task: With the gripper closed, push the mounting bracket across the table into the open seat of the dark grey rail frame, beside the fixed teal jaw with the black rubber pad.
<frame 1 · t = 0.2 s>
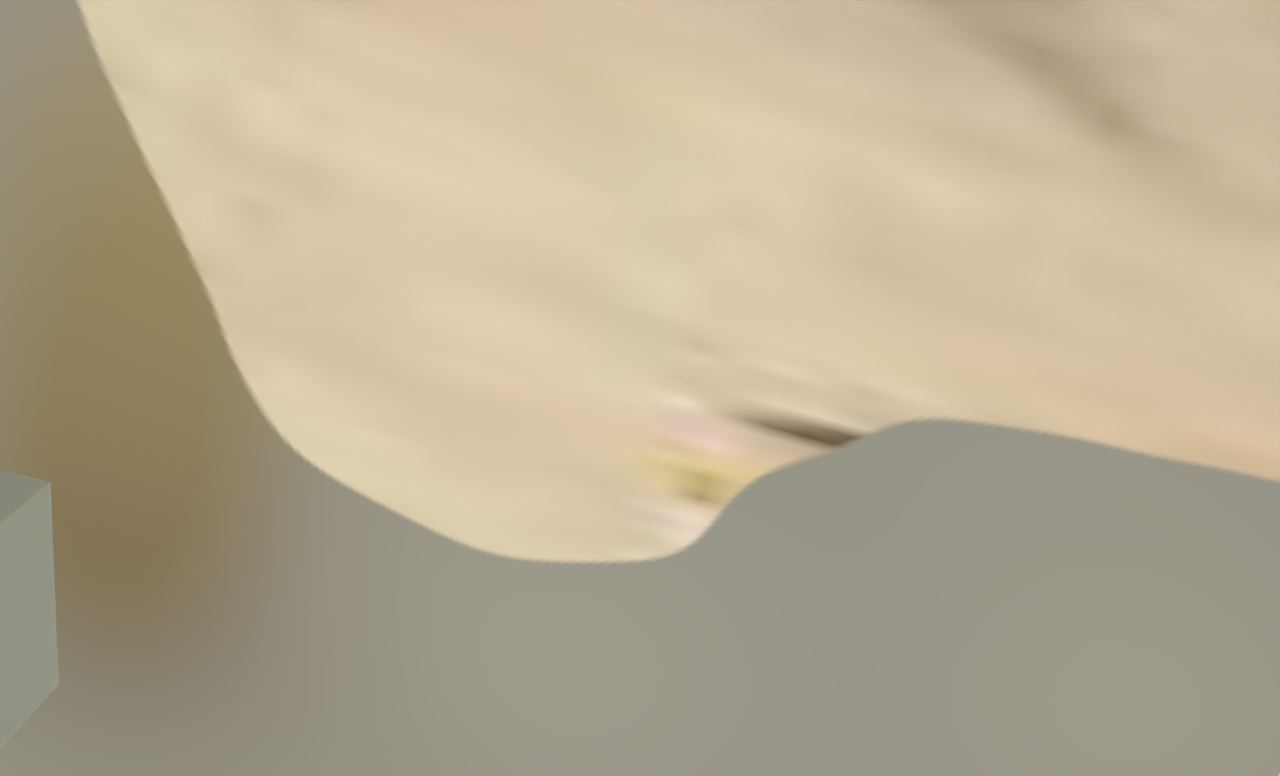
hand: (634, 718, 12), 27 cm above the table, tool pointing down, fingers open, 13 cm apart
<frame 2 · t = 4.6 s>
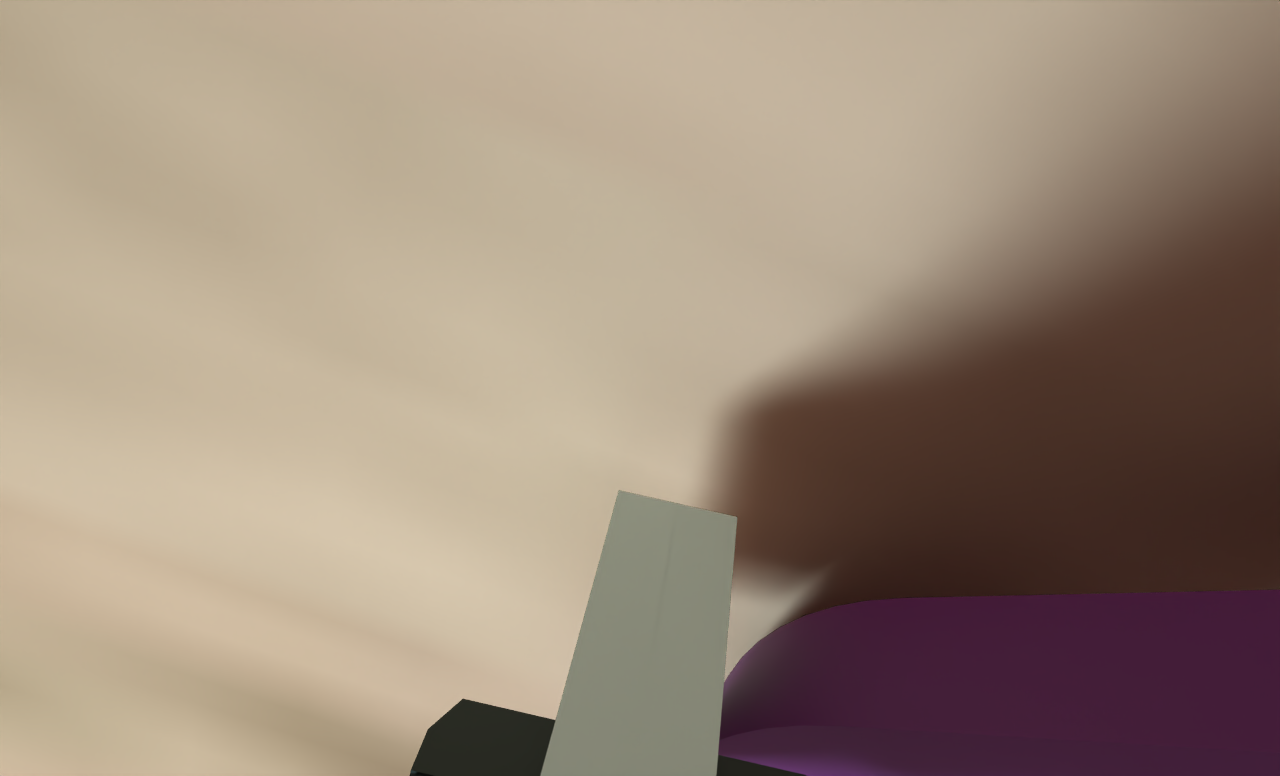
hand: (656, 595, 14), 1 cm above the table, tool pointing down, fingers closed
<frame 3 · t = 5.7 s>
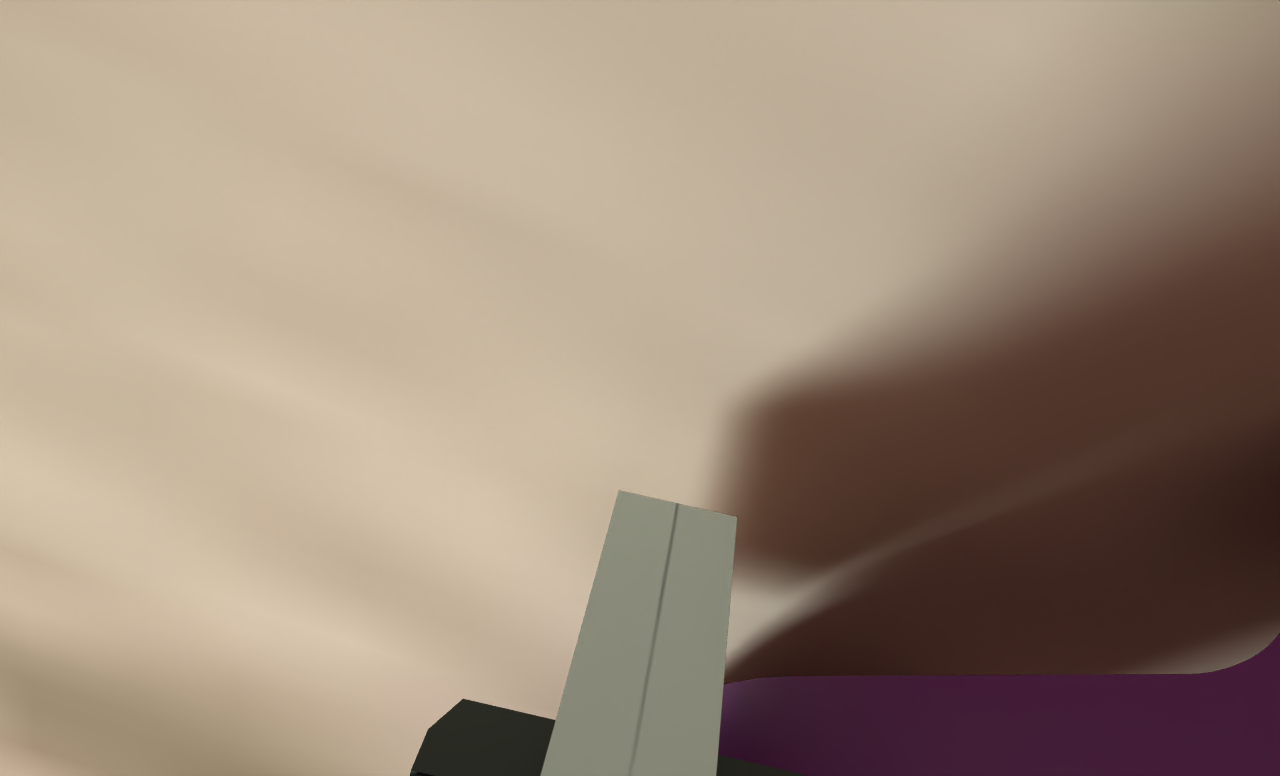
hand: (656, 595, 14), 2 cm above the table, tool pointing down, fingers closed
mounting bracket: (1195, 727, 17), on the table
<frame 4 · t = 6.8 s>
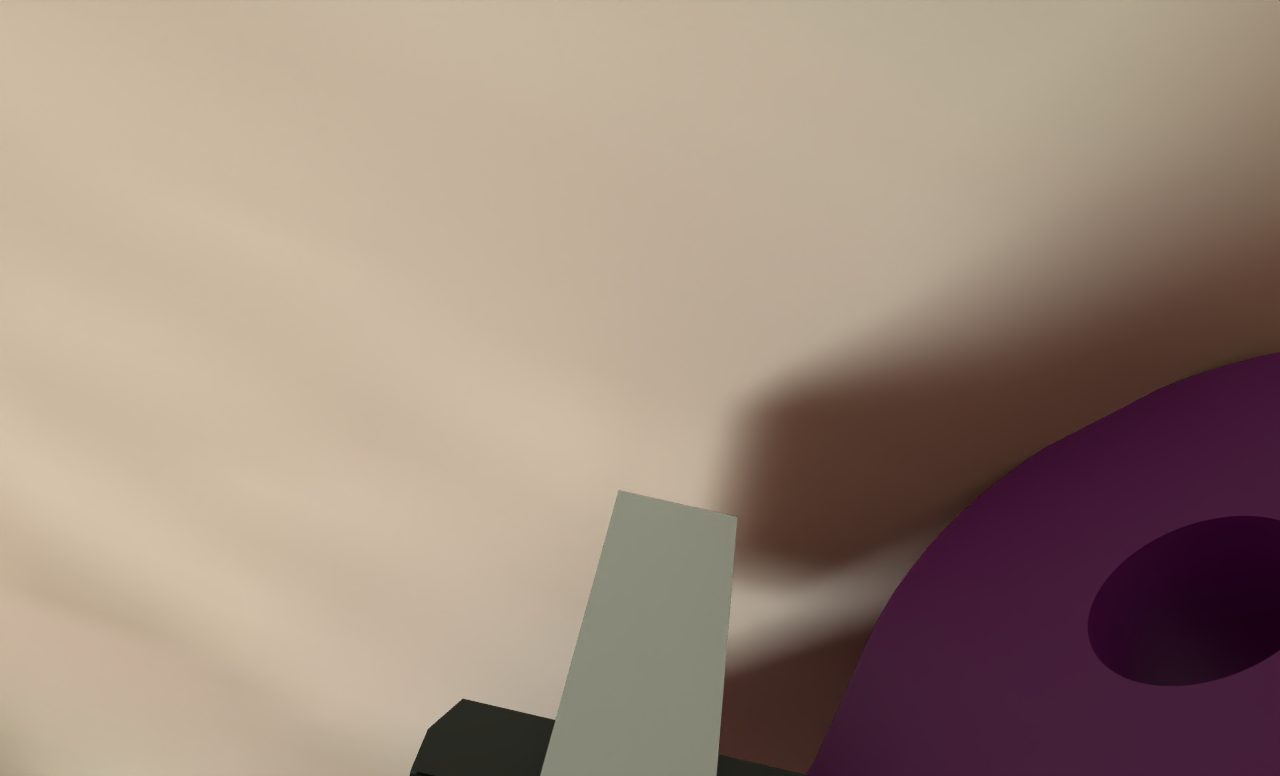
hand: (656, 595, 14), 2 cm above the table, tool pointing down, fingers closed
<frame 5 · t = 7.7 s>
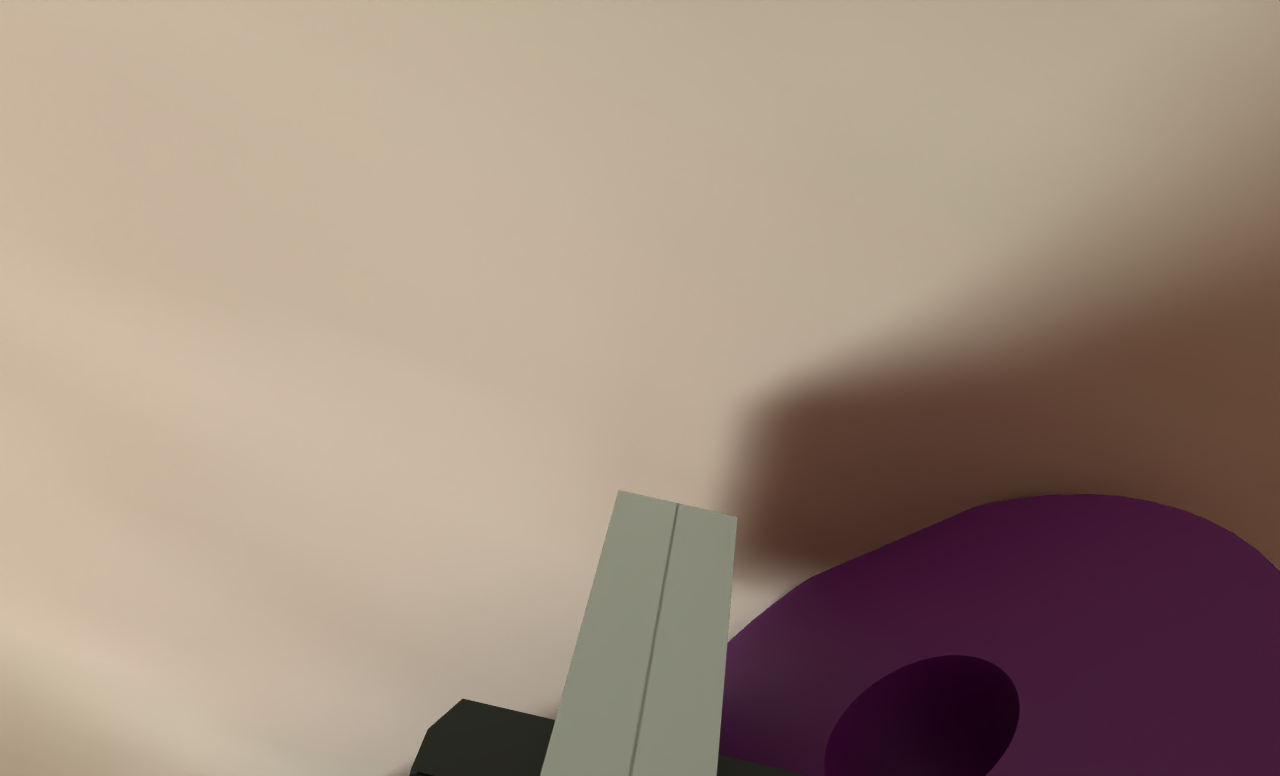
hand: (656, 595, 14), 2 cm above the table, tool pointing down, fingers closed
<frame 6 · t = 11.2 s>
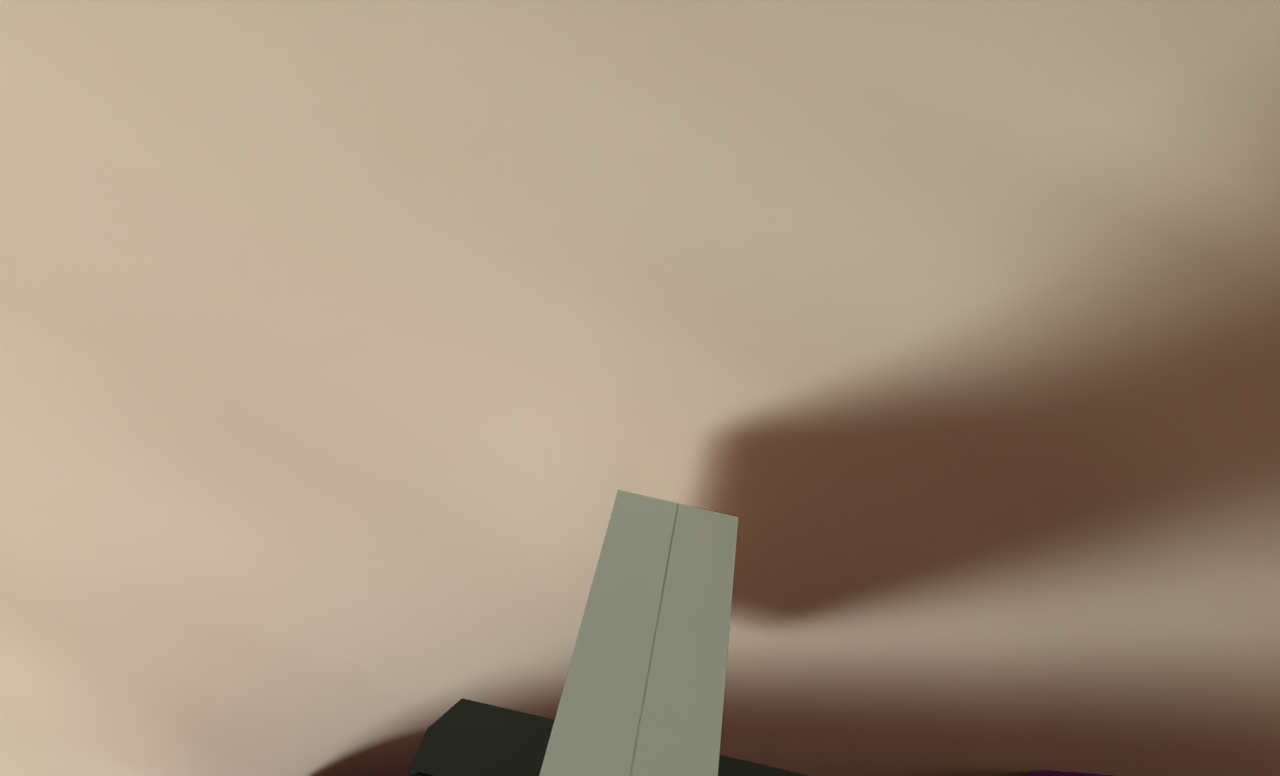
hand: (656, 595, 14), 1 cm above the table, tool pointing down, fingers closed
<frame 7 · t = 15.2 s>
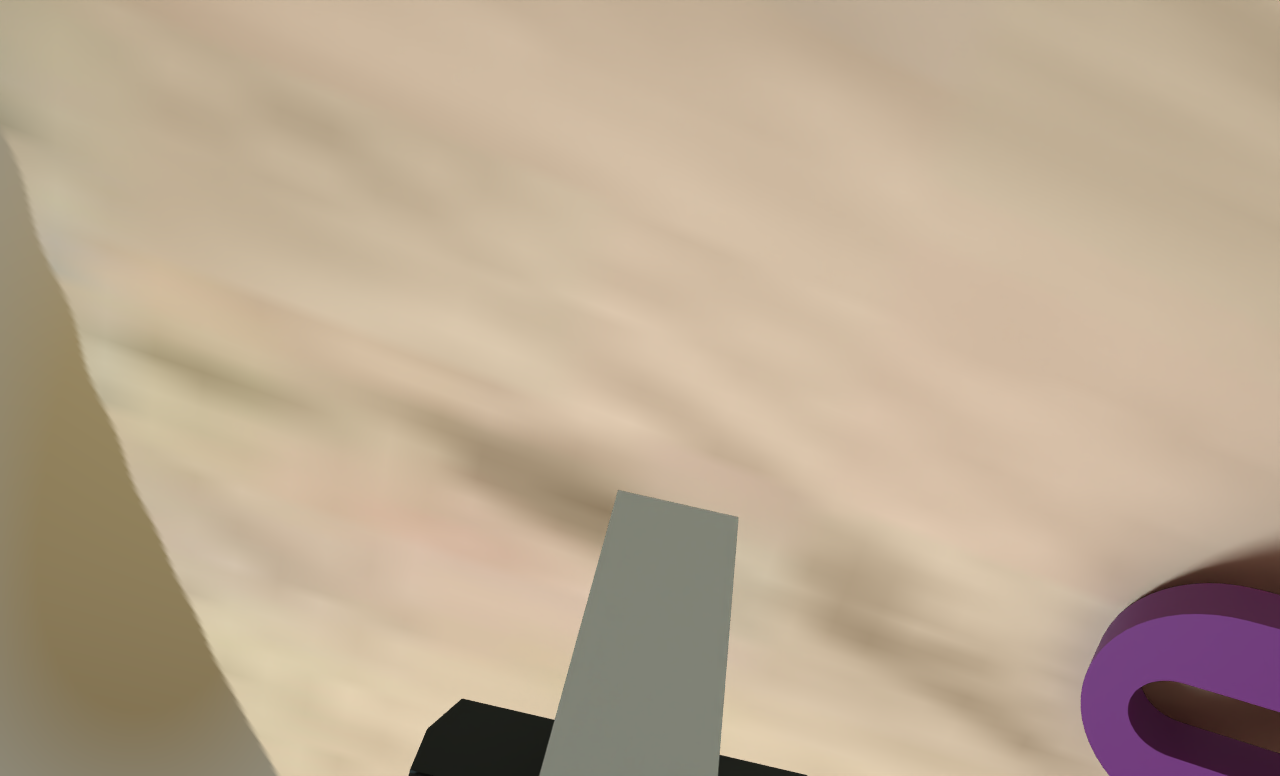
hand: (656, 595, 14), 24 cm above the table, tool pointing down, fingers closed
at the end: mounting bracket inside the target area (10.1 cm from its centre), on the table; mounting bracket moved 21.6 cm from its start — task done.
